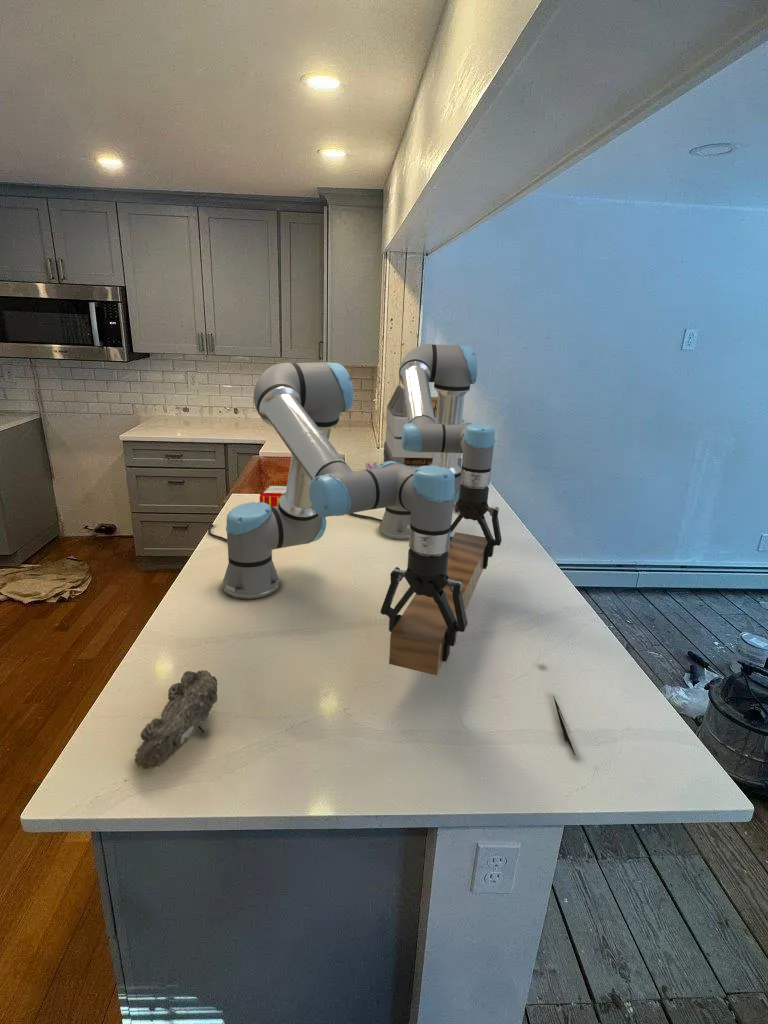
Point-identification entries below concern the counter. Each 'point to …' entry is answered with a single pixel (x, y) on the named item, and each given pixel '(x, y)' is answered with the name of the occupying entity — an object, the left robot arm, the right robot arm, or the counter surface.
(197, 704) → the fossil
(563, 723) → the feather
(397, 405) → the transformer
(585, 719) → the counter surface
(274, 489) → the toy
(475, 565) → the thick board
